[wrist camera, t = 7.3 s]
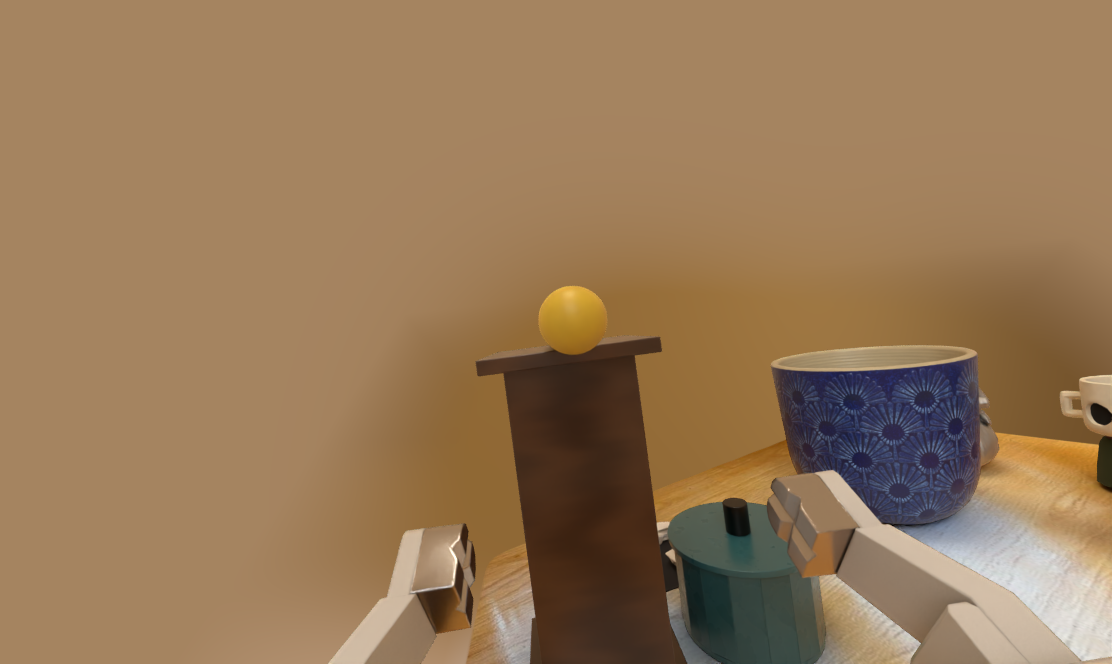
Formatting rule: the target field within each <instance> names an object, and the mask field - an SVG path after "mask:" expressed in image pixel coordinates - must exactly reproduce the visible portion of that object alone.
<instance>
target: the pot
mask: <svg viewBox="0 0 1112 664" xmlns="http://www.w3.org/2000/svg"><path fill="white" fill-rule="evenodd" d="M674 552H675V551H674ZM675 560H676V567H677V575H678V582H679V590H680V598H681V605H682V613H683V618H684V620H685V625H686V628H687V630H688V632H689V634H690V636H691V638H692V639H693V640H694V642H695V643H696V644H697V645H698V646H699V647H700V648H701V649H702V650H703V651H705V652H706V653H707V654H708V655H710V656H711V657H713V658H714V659H716V660H718V661H720V662H722V663H723V664H813V663H815V662H816V661H817V660H818V659H819V657H820V656H821V655H822V652H823V650H824V647H825V636H826V630H825V622H824V615H823V607H822V599H821V592H820V584H819V577H818V576H815V577H806V578H802V576H801V575H800V573H799V571H798V572H795V573H792V574H789V575H784V576H779V577H772V578H741V577H732V576H727V575H722V574H718V573H714V572H710V571H708V570H705V569H702V568H699V567H697V566H695V565H693V564H691V563H689V562H688V561H686V560H684V559H683V558H682V557H680V556H679V555H678V554H677V553H676V552H675Z"/></svg>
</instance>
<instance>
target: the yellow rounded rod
mask: <svg viewBox="0 0 1112 664" xmlns="http://www.w3.org/2000/svg"><path fill="white" fill-rule="evenodd" d="M538 319H539V320H538V322H539V329H540V332H541V334H542V336H543V338H544V340H545V341H546V343H547V344H548V345H549V346H550V347H552V348H553V349H555V350H556V351H558V352H560V353H563V354H568V355H577V354H582V353H585V352H587V351H589V350H591V349H593V348H594V347H595V346H596V345H597V344H598V343H599V342H600V341H601V339H602V338H603V336H604V334H605V331H606V327H607V313H606V309H605V307H604V304H603V303H602V301H601V300H600V298H599V297H598V296H597V295H596V294H594V293H593V292H591V291H590V290H588V289H586V288H583V287H579V286H567V287H563V288H560V289H558V290H556V291H554V292H553V293H552V294H550V295H549V296H548V297H547V298H546V299H545V301H544V302H543V304H542V306H541V309H540V312H539V318H538Z"/></svg>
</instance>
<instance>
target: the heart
mask: <svg viewBox="0 0 1112 664" xmlns="http://www.w3.org/2000/svg"><path fill="white" fill-rule="evenodd" d="M989 406H990V404H989V399H988V398H987V397H986V396H985V394H984V393H983V392H982V390H981V389H980V388H979V417H980V446H981V466H983V465H985V464H987V463H989V462H990V461H991V460H992V459H993V458H994V457H995V456H996V454H997V453H998V451H999V444H998V438H997V436H996V434H995V433H994V431H993V430H992V428H991V426H990V425H991V420H990V418H989V417H988V416H987V415H986V414H985V412H984V411H983V410H981V408H989Z"/></svg>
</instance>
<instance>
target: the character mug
mask: <svg viewBox="0 0 1112 664" xmlns="http://www.w3.org/2000/svg"><path fill="white" fill-rule="evenodd" d="M1079 387H1080V392H1077V391H1063V392H1061V393H1060V402H1061V409H1062V413H1063V414H1064V415H1065V416H1069V417H1078V418H1084V424H1085V425H1086V426H1087V428H1088V429H1089V430H1091V431H1093V432H1096V433H1099V434H1103V435H1105V436H1104V437H1103V438H1102V439H1101V440H1100V443H1099V451H1098V461H1097V481H1098V482H1100V483H1101V484H1103V485H1104V486H1107V487H1111V488H1112V375H1103V376H1090V377H1084V378H1081V379H1080V380H1079ZM1072 399H1081V403H1082V410H1073V407H1072Z"/></svg>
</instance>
